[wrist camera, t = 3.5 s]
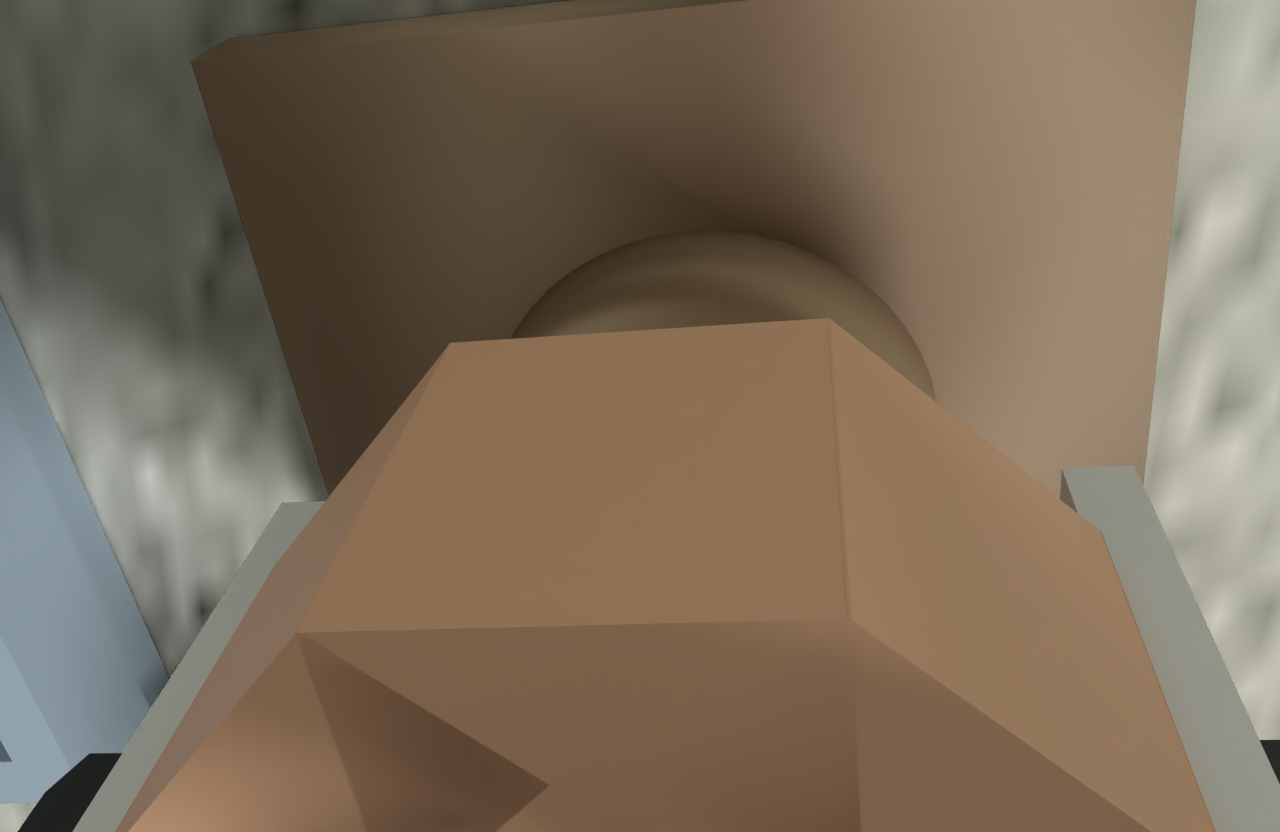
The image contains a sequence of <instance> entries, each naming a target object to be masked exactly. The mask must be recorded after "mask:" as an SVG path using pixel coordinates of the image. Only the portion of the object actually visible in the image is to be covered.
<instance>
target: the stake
mask: <svg viewBox="0 0 1280 832" xmlns="http://www.w3.org/2000/svg"><path fill="white" fill-rule="evenodd" d="M1195 9H1196V0H568V1H559V2H550V3H541V4H532V5H523V6H514V7H505V8H496V9H488V10H479V11H470V12H461V13H452V14H443V15H434V16H425V17H416V18H407V19H398V20H390V21H381V22H372V23H363V24H354V25H345V26H336V27H327V28H318V29H309V30H300V31H292V32H283V33H274V34H265V35H256V36H247V37H238V38H230V39H228V40H226V41H224V42H223V43H221V44H219V45H218V46H216V47H214V48H213V49H211V50H209V51H207V52H206V53H204V54H202V55H201V56H199V57H197V58H196V59H194V60H192V61H191V64H192V67H193V70H194V73H195V76H196V79H197V83H198V86H199V89H200V92H201V95H202V98H203V101H204V105H205V108H206V111H207V114H208V117H209V120H210V123H211V126H212V130H213V133H214V136H215V139H216V142H217V145H218V148H219V152H220V155H221V158H222V161H223V164H224V167H225V170H226V174H227V177H228V180H229V183H230V186H231V189H232V192H233V196H234V199H235V202H236V205H237V208H238V211H239V214H240V218H241V221H242V224H243V227H244V230H245V233H246V236H247V240H248V243H249V246H250V249H251V252H252V255H253V258H254V262H255V265H256V268H257V271H258V274H259V277H260V280H261V284H262V287H263V290H264V293H265V296H266V299H267V302H268V306H269V309H270V312H271V315H272V318H273V321H274V324H275V328H276V331H277V334H278V337H279V340H280V343H281V346H282V350H283V353H284V356H285V359H286V362H287V365H288V368H289V372H290V375H291V378H292V381H293V384H294V387H295V390H296V394H297V397H298V400H299V403H300V406H301V409H302V412H303V416H304V419H305V422H306V425H307V428H308V431H309V434H310V438H311V441H312V444H313V447H314V450H315V453H316V456H317V460H318V463H319V466H320V469H321V472H322V475H323V478H324V482H325V485H326V488H327V491H328V494H329V496H330V495H331V493H332V492H333V491H334V490H335V488H336V487H337V486H338V485H339V483H340V482H341V481H342V479H343V478H344V477H345V476H346V474H347V473H348V472H349V471H350V469H351V468H352V467H353V466H354V464H355V463H356V462H357V461H358V459H359V458H360V457H361V455H362V454H363V453H364V452H365V450H366V449H367V448H368V447H369V445H370V444H371V443H372V442H373V440H374V439H375V438H376V437H377V435H378V434H379V433H380V431H381V430H382V429H383V428H384V426H385V425H386V424H387V423H388V421H389V420H390V419H391V418H392V416H393V415H394V414H395V413H396V411H397V410H398V409H399V407H400V406H401V405H402V404H403V402H404V401H405V400H406V399H407V397H408V396H409V395H410V394H411V392H412V391H413V390H414V389H415V387H416V386H417V385H418V383H419V382H420V381H421V380H422V378H423V377H424V376H425V375H426V373H427V372H428V371H429V370H430V368H431V367H432V366H433V365H434V363H435V362H436V361H437V359H438V358H439V357H440V356H441V354H442V353H443V352H444V351H445V349H446V348H447V347H448V345H449V343H451V342H452V343H456V342H472V341H487V340H502V339H517V338H532V337H547V336H563V335H578V334H593V333H608V332H623V331H638V330H654V329H669V328H684V327H699V326H714V325H729V324H745V323H760V322H775V321H790V320H805V319H820V318H828V317H829V318H830V319H831V320H832V321H834V322H835V323H836V324H837V325H839V326H840V327H841V328H843V329H844V330H845V331H846V332H848V333H849V334H850V335H851V336H853V337H854V338H855V339H857V340H858V341H859V342H860V343H862V344H863V345H864V346H865V347H867V348H868V349H869V350H871V351H872V352H873V353H874V354H876V355H877V356H878V357H879V358H881V359H882V360H883V361H885V362H886V363H887V364H888V365H890V366H891V367H892V368H893V369H895V370H896V371H897V372H899V373H900V374H901V375H902V376H904V377H905V378H906V379H907V380H909V381H910V382H911V383H913V384H914V385H915V386H916V387H918V388H919V389H920V390H921V391H923V392H924V393H925V394H927V395H928V396H929V397H930V398H932V399H933V400H934V401H935V402H937V403H938V404H939V405H940V406H942V407H943V408H944V409H946V410H947V411H948V412H949V413H951V414H952V415H953V416H954V417H956V418H957V419H958V420H960V421H961V422H962V423H963V424H965V425H966V426H967V427H968V428H970V429H971V430H972V431H974V432H975V433H976V434H977V435H979V436H980V437H981V438H982V439H984V440H985V441H986V442H988V443H989V444H990V445H991V446H993V447H994V448H995V449H996V450H998V451H999V452H1000V453H1002V454H1003V455H1004V456H1005V457H1007V458H1008V459H1009V460H1010V461H1012V462H1013V463H1014V464H1016V465H1017V466H1018V467H1019V468H1021V469H1022V470H1023V471H1024V472H1026V473H1027V474H1028V475H1030V476H1031V477H1032V478H1033V479H1035V480H1036V481H1037V482H1038V483H1040V484H1041V485H1042V486H1044V487H1045V488H1046V489H1047V490H1049V491H1050V492H1051V493H1052V494H1054V495H1055V496H1056V497H1058V498H1059V499H1060V487H1061V472H1062V468H1078V467H1100V466H1123V465H1134V467H1135V469H1136V471H1137V473H1138V475H1139V478H1140V480H1141V482H1142V484H1143V482H1144V473H1145V464H1146V455H1147V446H1148V437H1149V428H1150V419H1151V409H1152V400H1153V391H1154V382H1155V373H1156V364H1157V355H1158V346H1159V337H1160V328H1161V319H1162V309H1163V300H1164V291H1165V282H1166V273H1167V264H1168V255H1169V246H1170V237H1171V228H1172V218H1173V209H1174V200H1175V191H1176V182H1177V173H1178V164H1179V155H1180V146H1181V137H1182V128H1183V118H1184V109H1185V100H1186V91H1187V82H1188V73H1189V64H1190V55H1191V46H1192V37H1193V27H1194V18H1195Z"/></svg>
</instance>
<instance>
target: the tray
mask: <svg viewBox="0 0 1280 832" xmlns="http://www.w3.org/2000/svg"><path fill="white" fill-rule="evenodd" d="M168 679H169V676H168V674H167V672H166V670H165V667H164V665H163V663H162V661H161V658H160V656H159V654H158V652H157V649H156V647H155V645H154V643H153V640H152V638H151V636H150V634H149V631H148V629H147V627H146V625H145V622H144V620H143V618H142V616H141V613H140V611H139V609H138V607H137V604H136V602H135V600H134V598H133V595H132V593H131V591H130V589H129V586H128V584H127V582H126V580H125V577H124V575H123V573H122V571H121V568H120V566H119V564H118V562H117V559H116V557H115V555H114V553H113V550H112V548H111V546H110V544H109V541H108V539H107V537H106V535H105V532H104V530H103V528H102V526H101V524H100V521H99V519H98V517H97V515H96V512H95V510H94V508H93V506H92V503H91V501H90V499H89V497H88V494H87V492H86V490H85V488H84V485H83V483H82V481H81V479H80V476H79V474H78V472H77V470H76V467H75V465H74V463H73V461H72V458H71V456H70V454H69V452H68V449H67V447H66V445H65V443H64V440H63V438H62V436H61V434H60V431H59V429H58V427H57V425H56V422H55V420H54V418H53V416H52V413H51V411H50V409H49V407H48V404H47V402H46V400H45V398H44V395H43V393H42V391H41V389H40V386H39V384H38V382H37V380H36V377H35V375H34V373H33V371H32V368H31V366H30V364H29V362H28V359H27V357H26V355H25V353H24V350H23V348H22V346H21V344H20V342H19V339H18V337H17V335H16V333H15V330H14V328H13V326H12V324H11V321H10V319H9V317H8V315H7V312H6V310H5V308H4V306H3V303H2V301H1V299H0V803H38V802H39V800H40V799H41V797H42V796H43V794H44V793H45V792H46V791H47V790H48V789H49V788H50V787H52V786H53V785H54V784H55V783H56V782H57V781H58V780H60V779H61V778H62V777H63V776H64V775H65V774H66V773H68V772H69V771H70V770H71V769H72V768H73V767H74V766H76V765H77V764H78V763H79V762H80V761H81V760H82V759H84V758H85V757H86V756H87V755H88V754H89V753H121V752H122V751H123V749H124V748H125V746H126V745H127V743H128V742H129V740H130V738H131V737H132V735H133V734H134V732H135V731H136V729H137V727H138V726H139V724H140V723H141V721H142V720H143V718H144V716H145V715H146V713H147V712H148V710H149V709H150V707H151V706H152V704H153V702H154V701H155V699H156V698H157V696H158V695H159V693H160V691H161V690H162V688H163V687H164V685H165V684H166V682H167V680H168Z"/></svg>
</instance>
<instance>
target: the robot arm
mask: <svg viewBox="0 0 1280 832" xmlns="http://www.w3.org/2000/svg"><path fill="white" fill-rule="evenodd" d="M1060 500H1061V501H1063V502H1064V503H1065V504H1066V505H1068V506H1069V507H1070V508H1072V509H1073V510H1074V511H1075V512H1077V513H1078V514H1079V515H1080V516H1082V517H1083V518H1084V519H1086V520H1087V521H1088V522H1089V523H1091V524H1092V525H1093V526H1094V527H1096V528H1097V529H1098V530H1099V531H1101V532H1102V534H1103V537H1104V540H1105V542H1106V545H1107V547H1108V550H1109V553H1110V555H1111V558H1112V560H1113V563H1114V566H1115V568H1116V571H1117V574H1118V576H1119V579H1120V581H1121V584H1122V587H1123V589H1124V592H1125V595H1126V597H1127V600H1128V602H1129V605H1130V608H1131V610H1132V613H1133V616H1134V618H1135V621H1136V623H1137V626H1138V629H1139V631H1140V634H1141V636H1142V639H1143V642H1144V644H1145V647H1146V650H1147V652H1148V655H1149V657H1150V660H1151V663H1152V665H1153V668H1154V671H1155V673H1156V676H1157V678H1158V681H1159V684H1160V686H1161V689H1162V692H1163V694H1164V697H1165V699H1166V702H1167V705H1168V707H1169V710H1170V712H1171V715H1172V718H1173V720H1174V723H1175V726H1176V728H1177V731H1178V733H1179V736H1180V739H1181V741H1182V744H1183V747H1184V749H1185V752H1186V754H1187V757H1188V760H1189V762H1190V765H1191V768H1192V770H1193V773H1194V775H1195V778H1196V781H1197V783H1198V786H1199V788H1200V791H1201V794H1202V796H1203V799H1204V802H1205V804H1206V807H1207V809H1208V812H1209V815H1210V817H1211V820H1212V823H1213V825H1214V828H1215V830H1216V832H1280V740H1259V738H1258V736H1257V734H1256V732H1255V729H1254V727H1253V725H1252V723H1251V721H1250V718H1249V716H1248V714H1247V712H1246V710H1245V707H1244V705H1243V703H1242V701H1241V699H1240V696H1239V694H1238V692H1237V690H1236V688H1235V686H1234V683H1233V681H1232V679H1231V677H1230V675H1229V672H1228V670H1227V668H1226V666H1225V664H1224V661H1223V659H1222V657H1221V655H1220V653H1219V650H1218V648H1217V646H1216V644H1215V642H1214V640H1213V637H1212V635H1211V633H1210V631H1209V629H1208V626H1207V624H1206V622H1205V620H1204V618H1203V615H1202V613H1201V611H1200V609H1199V607H1198V605H1197V602H1196V600H1195V598H1194V596H1193V594H1192V591H1191V589H1190V587H1189V585H1188V583H1187V580H1186V578H1185V576H1184V574H1183V572H1182V569H1181V567H1180V565H1179V563H1178V561H1177V559H1176V556H1175V554H1174V552H1173V550H1172V548H1171V545H1170V543H1169V541H1168V539H1167V537H1166V534H1165V532H1164V530H1163V528H1162V526H1161V523H1160V521H1159V519H1158V517H1157V515H1156V513H1155V510H1154V508H1153V506H1152V504H1151V502H1150V499H1149V497H1148V495H1147V493H1146V491H1145V488H1144V486H1143V484H1142V482H1141V480H1140V478H1139V475H1138V473H1137V471H1136V469H1135V467H1134V465H1123V466H1100V467H1078V468H1062V472H1061V487H1060ZM324 502H325V501H313V502H290V503H282V504H281V505H280V507H279V508H278V510H277V511H276V513H275V515H274V516H273V518H272V519H271V521H270V522H269V524H268V526H267V527H266V529H265V530H264V532H263V533H262V535H261V537H260V538H259V540H258V541H257V543H256V544H255V546H254V548H253V549H252V551H251V552H250V554H249V555H248V557H247V559H246V560H245V562H244V563H243V565H242V566H241V568H240V569H239V571H238V573H237V574H236V576H235V577H234V579H233V580H232V582H231V584H230V585H229V587H228V588H227V590H226V591H225V593H224V595H223V596H222V598H221V599H220V601H219V602H218V604H217V606H216V607H215V609H214V610H213V612H212V613H211V615H210V617H209V618H208V620H207V621H206V623H205V624H204V626H203V628H202V629H201V631H200V632H199V634H198V635H197V637H196V639H195V640H194V642H193V643H192V645H191V646H190V648H189V650H188V651H187V653H186V654H185V656H184V657H183V659H182V661H181V662H180V664H179V665H178V667H177V668H176V670H175V672H174V673H173V675H172V676H171V678H170V679H169V681H168V682H167V684H166V686H165V687H164V689H163V690H162V692H161V693H160V695H159V697H158V698H157V700H156V701H155V703H154V704H153V706H152V708H151V709H150V711H149V712H148V714H147V715H146V717H145V719H144V720H143V722H142V723H141V725H140V726H139V728H138V730H137V731H136V733H135V734H134V736H133V737H132V739H131V741H130V742H129V744H128V745H127V747H126V748H125V750H124V752H123V753H89V754H88V755H87V756H86V757H85V758H84V759H82V760H81V761H80V762H79V763H78V764H77V765H76V766H74V767H73V768H72V769H71V770H70V771H69V772H68V773H66V774H65V775H64V776H63V777H62V778H61V779H60V780H58V781H57V782H56V783H55V784H54V785H53V786H52V787H50V788H49V789H48V790H47V791H46V792H45V793H44V794H43V796H42V797H41V799H40V800H39V802H38V803H37V805H36V806H35V807H34V809H33V810H32V812H31V813H30V815H29V816H28V818H27V819H26V821H25V822H24V824H23V825H22V826H21V828H20V829H19V831H18V832H115V831H116V829H117V827H118V826H119V824H120V822H121V821H122V819H123V817H124V816H125V814H126V812H127V811H128V809H129V807H130V806H131V804H132V802H133V801H134V799H135V797H136V796H137V794H138V792H139V791H140V789H141V787H142V786H143V784H144V782H145V781H146V779H147V777H148V776H149V774H150V772H151V771H152V769H153V767H154V766H155V764H156V762H157V761H158V759H159V757H160V756H161V754H162V752H163V751H164V749H165V747H166V746H167V744H168V742H169V741H170V739H171V737H172V736H173V734H174V732H175V731H176V729H177V727H178V726H179V724H180V722H181V721H182V719H183V717H184V716H185V714H186V712H187V711H188V709H189V707H190V706H191V704H192V702H193V701H194V699H195V697H196V696H197V694H198V692H199V691H200V689H201V687H202V686H203V684H204V682H205V681H206V679H207V677H208V676H209V674H210V672H211V671H212V669H213V667H214V666H215V664H216V662H217V661H218V659H219V657H220V656H221V654H222V652H223V651H224V649H225V647H226V646H227V644H228V642H229V641H230V639H231V637H232V636H233V634H234V632H235V631H236V629H237V627H238V626H239V624H240V622H241V621H242V619H243V617H244V616H245V614H246V612H247V611H248V609H249V607H250V606H251V604H252V602H253V601H254V599H255V597H256V596H257V594H258V592H259V591H260V589H261V587H262V586H263V584H264V582H265V581H266V579H267V577H268V576H269V574H270V572H271V571H272V569H273V567H274V566H275V564H276V562H277V561H278V560H279V559H280V558H281V557H282V555H283V554H284V553H285V551H286V550H287V549H288V548H289V546H290V545H291V544H292V543H293V541H294V540H295V539H296V538H297V536H298V535H299V534H300V533H301V531H302V530H303V529H304V527H305V526H306V525H307V524H308V522H309V521H310V520H311V519H312V517H313V516H314V515H315V514H316V512H317V511H318V510H319V509H320V507H321V506H322V505H323V503H324Z"/></svg>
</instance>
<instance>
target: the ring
mask: <svg viewBox="0 0 1280 832" xmlns="http://www.w3.org/2000/svg"><path fill="white" fill-rule="evenodd" d="M115 832H1216V830H1215V828H1214V825H1213V823H1212V820H1211V817H1210V815H1209V812H1208V809H1207V807H1206V804H1205V802H1204V799H1203V796H1202V794H1201V791H1200V788H1199V786H1198V783H1197V781H1196V778H1195V775H1194V773H1193V770H1192V768H1191V765H1190V762H1189V760H1188V757H1187V754H1186V752H1185V749H1184V747H1183V744H1182V741H1181V739H1180V736H1179V733H1178V731H1177V728H1176V726H1175V723H1174V720H1173V718H1172V715H1171V712H1170V710H1169V707H1168V705H1167V702H1166V699H1165V697H1164V694H1163V692H1162V689H1161V686H1160V684H1159V681H1158V678H1157V676H1156V673H1155V671H1154V668H1153V665H1152V663H1151V660H1150V657H1149V655H1148V652H1147V650H1146V647H1145V644H1144V642H1143V639H1142V636H1141V634H1140V631H1139V629H1138V626H1137V623H1136V621H1135V618H1134V616H1133V613H1132V610H1131V608H1130V605H1129V602H1128V600H1127V597H1126V595H1125V592H1124V589H1123V587H1122V584H1121V581H1120V579H1119V576H1118V574H1117V571H1116V568H1115V566H1114V563H1113V560H1112V558H1111V555H1110V553H1109V550H1108V547H1107V545H1106V542H1105V540H1104V537H1103V534H1102V532H1101V531H1099V530H1098V529H1097V528H1096V527H1094V526H1093V525H1092V524H1091V523H1089V522H1088V521H1087V520H1086V519H1084V518H1083V517H1082V516H1080V515H1079V514H1078V513H1077V512H1075V511H1074V510H1073V509H1072V508H1070V507H1069V506H1068V505H1066V504H1065V503H1064V502H1063V501H1061V500H1060V499H1059V498H1058V497H1056V496H1055V495H1054V494H1052V493H1051V492H1050V491H1049V490H1047V489H1046V488H1045V487H1044V486H1042V485H1041V484H1040V483H1038V482H1037V481H1036V480H1035V479H1033V478H1032V477H1031V476H1030V475H1028V474H1027V473H1026V472H1024V471H1023V470H1022V469H1021V468H1019V467H1018V466H1017V465H1016V464H1014V463H1013V462H1012V461H1010V460H1009V459H1008V458H1007V457H1005V456H1004V455H1003V454H1002V453H1000V452H999V451H998V450H996V449H995V448H994V447H993V446H991V445H990V444H989V443H988V442H986V441H985V440H984V439H982V438H981V437H980V436H979V435H977V434H976V433H975V432H974V431H972V430H971V429H970V428H968V427H967V426H966V425H965V424H963V423H962V422H961V421H960V420H958V419H957V418H956V417H954V416H953V415H952V414H951V413H949V412H948V411H947V410H946V409H944V408H943V407H942V406H940V405H939V404H938V403H937V402H935V401H934V400H933V399H932V398H930V397H929V396H928V395H927V394H925V393H924V392H923V391H921V390H920V389H919V388H918V387H916V386H915V385H914V384H913V383H911V382H910V381H909V380H907V379H906V378H905V377H904V376H902V375H901V374H900V373H899V372H897V371H896V370H895V369H893V368H892V367H891V366H890V365H888V364H887V363H886V362H885V361H883V360H882V359H881V358H879V357H878V356H877V355H876V354H874V353H873V352H872V351H871V350H869V349H868V348H867V347H865V346H864V345H863V344H862V343H860V342H859V341H858V340H857V339H855V338H854V337H853V336H851V335H850V334H849V333H848V332H846V331H845V330H844V329H843V328H841V327H840V326H839V325H837V324H836V323H835V322H834V321H832V320H831V319H830V318H829V317H828V318H820V319H805V320H790V321H775V322H760V323H745V324H729V325H714V326H699V327H684V328H669V329H654V330H638V331H623V332H608V333H593V334H578V335H563V336H547V337H532V338H517V339H502V340H487V341H472V342H456V343H452V342H451V343H449V345H448V347H447V348H446V349H445V351H444V352H443V353H442V354H441V356H440V357H439V358H438V359H437V361H436V362H435V363H434V365H433V366H432V367H431V368H430V370H429V371H428V372H427V373H426V375H425V376H424V377H423V378H422V380H421V381H420V382H419V383H418V385H417V386H416V387H415V389H414V390H413V391H412V392H411V394H410V395H409V396H408V397H407V399H406V400H405V401H404V402H403V404H402V405H401V406H400V407H399V409H398V410H397V411H396V413H395V414H394V415H393V416H392V418H391V419H390V420H389V421H388V423H387V424H386V425H385V426H384V428H383V429H382V430H381V431H380V433H379V434H378V435H377V437H376V438H375V439H374V440H373V442H372V443H371V444H370V445H369V447H368V448H367V449H366V450H365V452H364V453H363V454H362V455H361V457H360V458H359V459H358V461H357V462H356V463H355V464H354V466H353V467H352V468H351V469H350V471H349V472H348V473H347V474H346V476H345V477H344V478H343V479H342V481H341V482H340V483H339V485H338V486H337V487H336V488H335V490H334V491H333V492H332V493H331V495H330V496H329V497H328V498H327V500H326V501H325V502H324V503H323V505H322V506H321V507H320V509H319V510H318V511H317V512H316V514H315V515H314V516H313V517H312V519H311V520H310V521H309V522H308V524H307V525H306V526H305V527H304V529H303V530H302V531H301V533H300V534H299V535H298V536H297V538H296V539H295V540H294V541H293V543H292V544H291V545H290V546H289V548H288V549H287V550H286V551H285V553H284V554H283V555H282V557H281V558H280V559H279V560H278V561H277V562H276V564H275V566H274V567H273V569H272V571H271V572H270V574H269V576H268V577H267V579H266V581H265V582H264V584H263V586H262V587H261V589H260V591H259V592H258V594H257V596H256V597H255V599H254V601H253V602H252V604H251V606H250V607H249V609H248V611H247V612H246V614H245V616H244V617H243V619H242V621H241V622H240V624H239V626H238V627H237V629H236V631H235V632H234V634H233V636H232V637H231V639H230V641H229V642H228V644H227V646H226V647H225V649H224V651H223V652H222V654H221V656H220V657H219V659H218V661H217V662H216V664H215V666H214V667H213V669H212V671H211V672H210V674H209V676H208V677H207V679H206V681H205V682H204V684H203V686H202V687H201V689H200V691H199V692H198V694H197V696H196V697H195V699H194V701H193V702H192V704H191V706H190V707H189V709H188V711H187V712H186V714H185V716H184V717H183V719H182V721H181V722H180V724H179V726H178V727H177V729H176V731H175V732H174V734H173V736H172V737H171V739H170V741H169V742H168V744H167V746H166V747H165V749H164V751H163V752H162V754H161V756H160V757H159V759H158V761H157V762H156V764H155V766H154V767H153V769H152V771H151V772H150V774H149V776H148V777H147V779H146V781H145V782H144V784H143V786H142V787H141V789H140V791H139V792H138V794H137V796H136V797H135V799H134V801H133V802H132V804H131V806H130V807H129V809H128V811H127V812H126V814H125V816H124V817H123V819H122V821H121V822H120V824H119V826H118V827H117V829H116V831H115Z"/></svg>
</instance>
